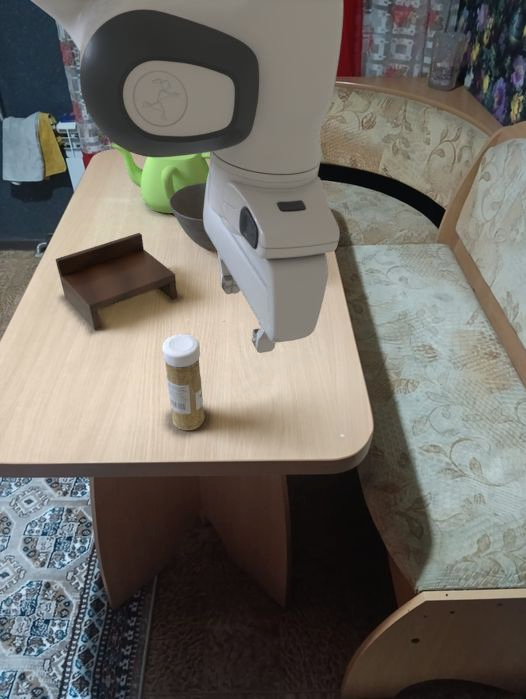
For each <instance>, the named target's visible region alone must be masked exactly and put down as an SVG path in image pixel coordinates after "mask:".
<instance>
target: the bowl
mask: <svg viewBox="0 0 526 699" xmlns="http://www.w3.org/2000/svg"><path fill="white" fill-rule="evenodd" d="M206 183H207V182H206ZM206 183H197V184H193V185H189V186H186V187H184V188H181V189H179V190H178V191H176V192H175V193H174V194H173V195H172V196H171V198H170V200H169V206H170V208H171V210H172V212H173V213H172V214H173V215H174V217H175V218H176V220H177V222H178V224H179V225H180V227H181V228H182V230H183V231H184V233H185V234H186V236H187V237H188V238H189V239H190V240H192V241H193V242H194V243H195V244H196V245H197V246H199V247H200V248H203V249H205V250H208V251H213V252H218V251H217V250H216V248H215V246H214V245H213V243H212V241H211V239H210V238H209V236H208V234H207V233H206V231H205V228H204V222H203V209H204V199H205V191H206Z"/></svg>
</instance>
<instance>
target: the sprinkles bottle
mask: <svg viewBox="0 0 526 699" xmlns="http://www.w3.org/2000/svg"><path fill="white" fill-rule="evenodd" d="M161 350H162V357H163V361H164V363H165V370H166V382H167V383H166V384H167V390H168V398H169V405H170V407H171V422H172V424H173V426H174V427H175V428H177V429H179V430H182V431H193V430H196V429H198V428H199V427H201V426H202V425H203V423H204V421H205V412H204V405H203V404H204V399H203V398H204V397H203V389H202V387H203V386H202V376H201V369H200V357H201V346H200V342H199V340H198V339H197V338H196V337H195V336H193V335H191V334H186V333H178V334H174V335H171V336H169V337H167V338H166V339H165V340H164V342H163V343H162V346H161Z"/></svg>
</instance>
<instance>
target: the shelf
mask: <svg viewBox="0 0 526 699" xmlns="http://www.w3.org/2000/svg"><path fill="white" fill-rule="evenodd" d="M143 240H144V239H143V234H142V233H140V232H137V233H134V234H130V235H128V236H124V237H121V238H118V239H115V240H112V241H108V242H105V243H101V244H97V245H95V246H92V247H90V248H89V247H88V248H86V249H83V250H80V251H76V252H73V253H70V254H67V255H64V256H61V257H58V258H55V259H54V260H55V263H56V268H57V272H58V276H59V279H60V283H61V287H62V290H63V295H64V299H65V300H66V301H67V302H68V303H69V304H70V306H72V307H73V308H74V310H75V311H76V312H77V313H78V314H79V315H80V317H82V318H83V320H85V322H86V323H87V324H88V325H89V326H90V327H91V328H92V329H93V330H94V331H97V330H99V329H100V330H101V329H102V325H101V319H100V315H99V314H100V313H99V311H101V310H103V309H106V308H109V307H112V306H114V305H117V304H120V303H122V302H125V301H127V300H130V299H132V298H135V297H137V296H140V295H143V294H146V293H148V292H151V291H154V290H156V289H158V290H159V291H161V293H163V294H164V295H165V296H166V297H167V298H169V299H170V300H171V301H173V300H175V299H178V290H177V280H176V273H174V272H173V271H171V270H170V269H169V268H168V267H167V266H166V265H164V263H162V262H161V261H159V260H158V259H157V258H155V257H154V256H153V255H152V254H150V253H149V252H148V251H146V249H145V248H144V241H143Z"/></svg>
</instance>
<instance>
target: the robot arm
mask: <svg viewBox="0 0 526 699" xmlns="http://www.w3.org/2000/svg"><path fill="white" fill-rule="evenodd" d="M30 1H31V2H32V3H33V4H35V5H36V6H37V7H39V8H40V9H41V10H42V11H44V12H45V13H46V14H48V15H49V16H50V17H51V18H53V19H54V20H55V21H56V22H57V23H58V24H59V25H60V26H61V28H63V30H64V31H65V32H66V33H67V34H68V36H69V37H70V38H71V40H72V42H73V43H74V45H75V46H76V48H77V50H78V53H79V84H80V92H81V96H82V99H83V103H84V105H85V108H86V111H87V112H88V114H89V116H90V118H91V119H92V121H93V123H94V124H95V125H96V127H97V128H98V129H99V131H100V132H101V133H102V134H103V135H104V136H105V137H106V138H107V139H109V140H110V141H112V143H114V144H117V145H118V146H120V147H121V148H123V149H125V150H127V151H129V152H130V153H131V154H134V155H138V156H142V157H146V158H147V157H173V156H183V155H191V154H199V153H207V152H208V153H210V159H209V164H208V166H209V173H208V177H207V183H206V191H205V199H204V209H203V222H204V228H205V231H206V233H207V234H208V236H209V238H210V239H211V241H212V243H213V245H214V246H215V248H216V250H217V251H216V252H217V259H218V264H219V265H218V266H219V271H220V282H219V284H220V287H221V288H222V290H223V292H224V294H225V295H231V294H238V293H240V292H241V294H242V296H243V298H244V299H245V300H246V302H247V304H248V305H249V308H250V309H251V310H252V312H253V314H254V316H255V317H256V320H257V321H258V324H259V326H260V327H259V328H254V329H252V334H251V335H252V338H251V342H252V344H253V346H254V349H255V351H256V353H258V354H263V353H269V352H272V351H273V350H274V349H275V348H276V344H277V343H279V344H280V343H286V342H292V341H297V340H303V339H305V338H307V337H310V335H312V334H313V333H314V331H315V330H316V327H317V324H318V321H319V318H320V313H321V310H322V307H323V303H324V298H325V295H326V294H325V293H326V289H327V284H328V277H329V276H328V275H329V263H328V262H329V261H328V258H327V255H326V254H327V253H331V252H335V251H336V249H337V248H338V245H339V240H340V227H339V225H338V223H337V220H336V217H335V216H334V213H333V212H332V210H331V208H330V205H329V203H328V200H327V197H326V195H325V191H324V186H323V182H322V180H321V177H320V176H319V170H320V164H321V159H322V143H321V134H322V128H323V125H324V121H325V119H326V116H327V115H328V113H329V111H330V108H331V106H332V102H333V97H334V93H335V87H336V81H337V74H338V68H339V61H340V54H341V48H342V46H341V45H342V38H343V26H344V0H30Z"/></svg>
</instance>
